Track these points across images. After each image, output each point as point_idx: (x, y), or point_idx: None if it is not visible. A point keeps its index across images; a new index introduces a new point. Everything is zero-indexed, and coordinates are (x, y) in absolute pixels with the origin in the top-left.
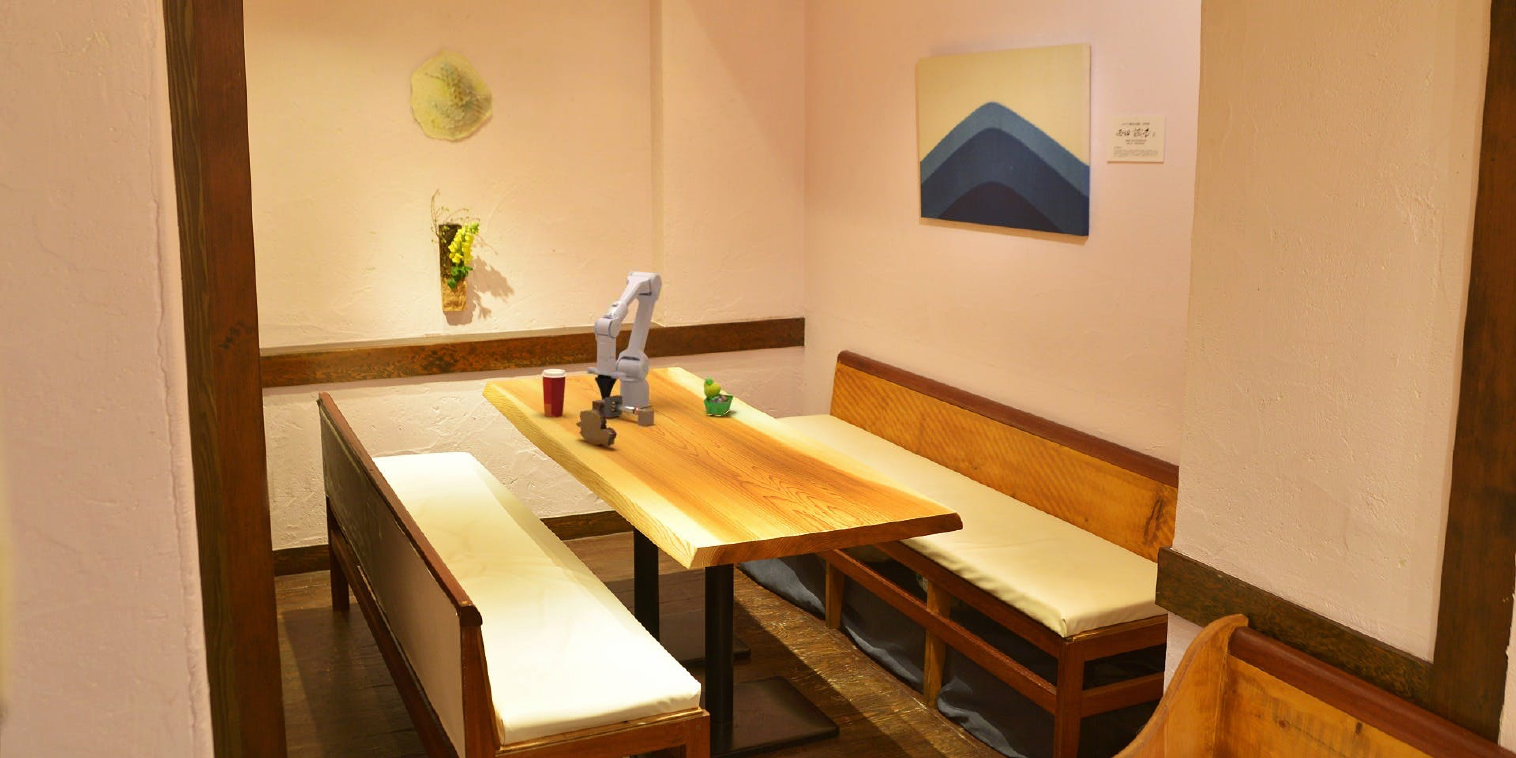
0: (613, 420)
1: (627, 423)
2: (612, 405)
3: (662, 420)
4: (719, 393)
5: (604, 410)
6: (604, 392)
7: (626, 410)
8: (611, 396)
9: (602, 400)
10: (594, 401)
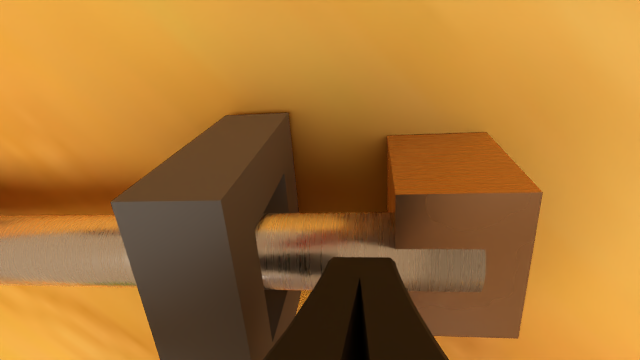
0: (176, 114)
1: (25, 124)
2: None
3: (17, 347)
4: None
5: (271, 132)
6: (300, 327)
7: (22, 218)
8: (237, 336)
9: (460, 307)
10: (507, 202)
